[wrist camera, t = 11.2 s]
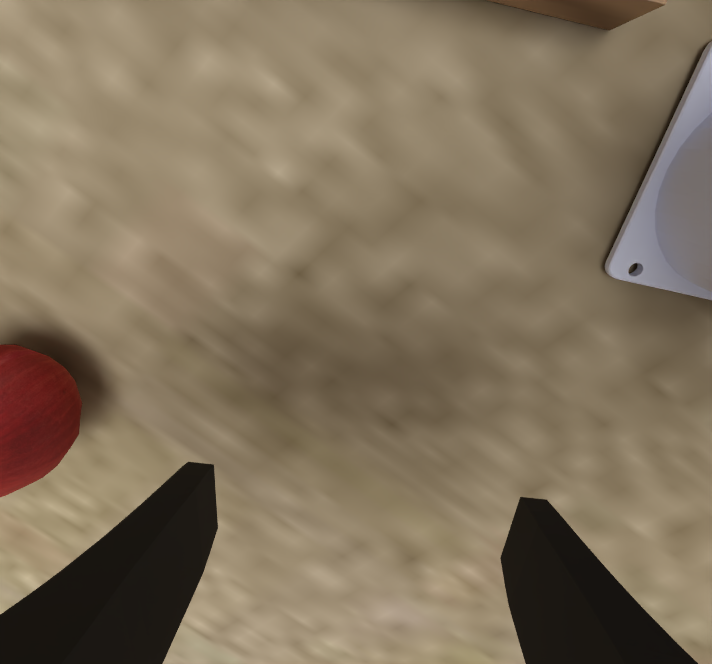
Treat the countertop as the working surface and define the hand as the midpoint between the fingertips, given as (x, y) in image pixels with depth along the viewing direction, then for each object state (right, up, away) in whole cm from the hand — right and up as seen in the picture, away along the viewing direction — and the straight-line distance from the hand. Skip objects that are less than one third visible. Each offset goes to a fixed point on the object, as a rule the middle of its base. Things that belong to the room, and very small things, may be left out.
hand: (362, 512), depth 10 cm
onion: (-14, +2, +10) cm, 18 cm away
